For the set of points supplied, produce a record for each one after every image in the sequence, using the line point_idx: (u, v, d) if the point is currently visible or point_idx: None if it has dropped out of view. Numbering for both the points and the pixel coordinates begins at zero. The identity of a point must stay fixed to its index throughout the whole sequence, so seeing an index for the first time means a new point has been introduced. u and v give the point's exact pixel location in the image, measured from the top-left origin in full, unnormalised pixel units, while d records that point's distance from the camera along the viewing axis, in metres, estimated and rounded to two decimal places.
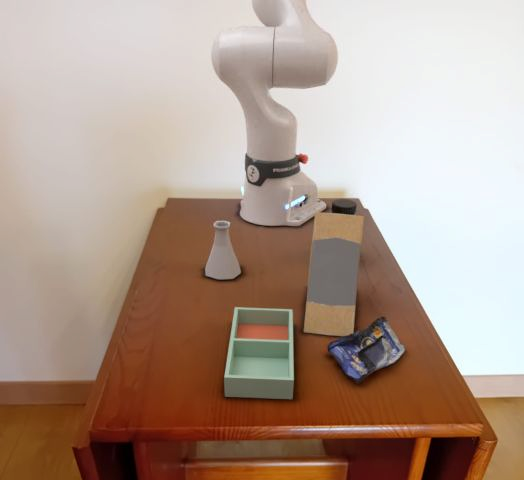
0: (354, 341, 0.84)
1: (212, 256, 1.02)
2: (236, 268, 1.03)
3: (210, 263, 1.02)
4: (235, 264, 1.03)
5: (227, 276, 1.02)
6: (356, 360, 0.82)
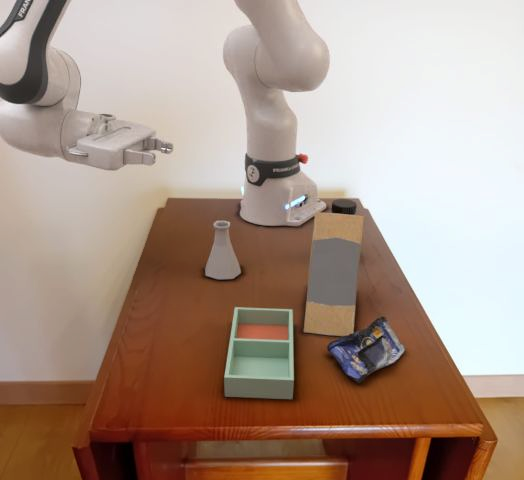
0: (354, 341, 0.84)
1: (212, 256, 1.02)
2: (236, 268, 1.03)
3: (210, 263, 1.02)
4: (235, 264, 1.03)
5: (227, 276, 1.02)
6: (356, 360, 0.82)
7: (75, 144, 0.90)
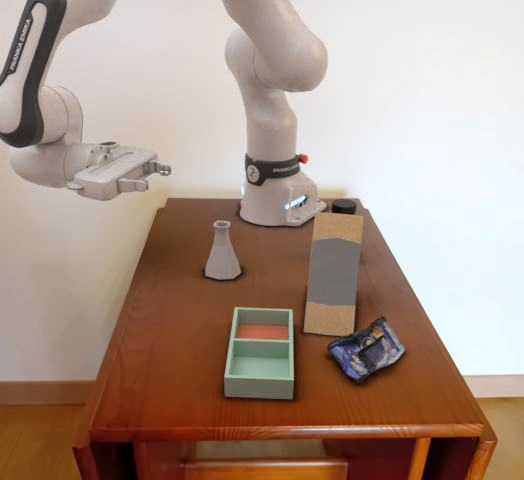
0: (354, 341, 0.84)
1: (212, 256, 1.02)
2: (236, 268, 1.03)
3: (210, 263, 1.02)
4: (235, 264, 1.03)
5: (227, 276, 1.02)
6: (356, 360, 0.82)
7: None
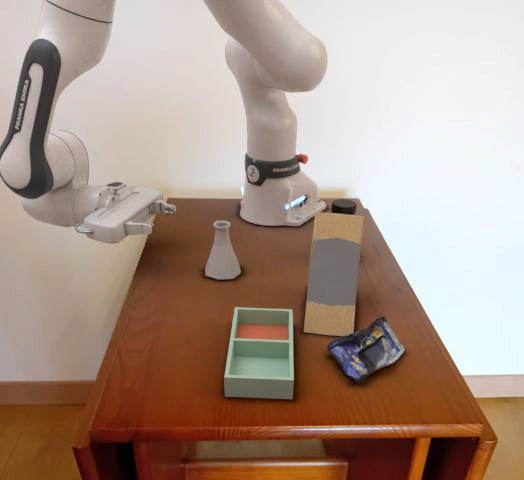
0: (354, 341, 0.84)
1: (212, 256, 1.02)
2: (236, 268, 1.03)
3: (210, 263, 1.02)
4: (235, 264, 1.03)
5: (227, 276, 1.02)
6: (356, 360, 0.82)
7: None
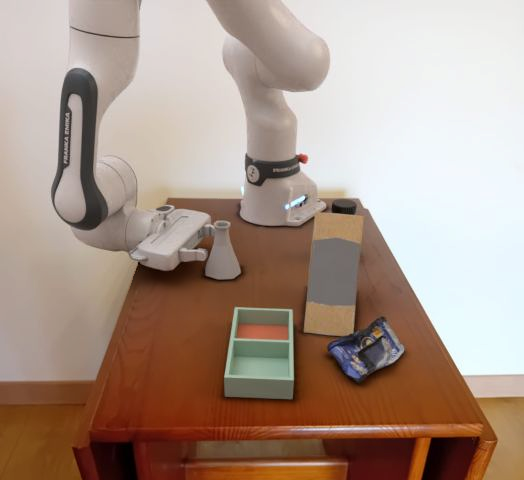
0: (354, 341, 0.84)
1: (212, 256, 1.02)
2: (236, 268, 1.03)
3: (210, 263, 1.02)
4: (235, 264, 1.03)
5: (227, 276, 1.02)
6: (356, 360, 0.82)
7: (137, 246, 1.00)
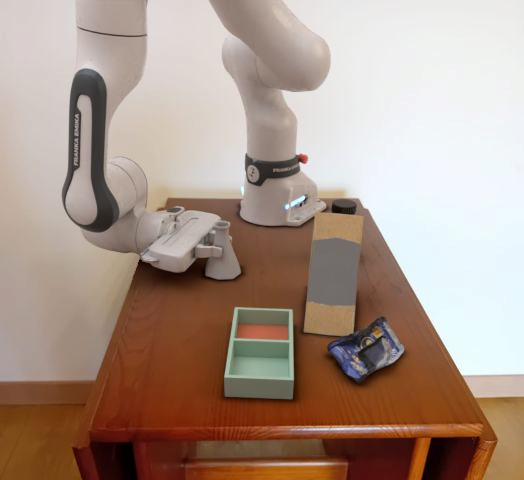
0: (354, 341, 0.84)
1: (212, 256, 1.02)
2: (236, 268, 1.03)
3: (210, 263, 1.02)
4: (235, 264, 1.03)
5: (227, 276, 1.02)
6: (356, 360, 0.82)
7: (148, 248, 1.00)
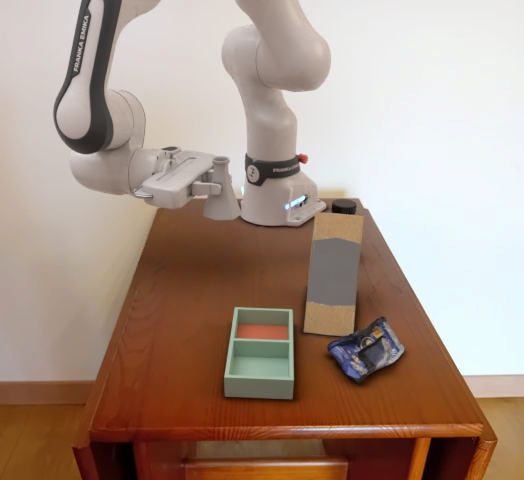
0: (354, 341, 0.84)
1: (210, 194, 0.95)
2: (236, 208, 0.97)
3: (208, 203, 0.96)
4: (235, 204, 0.96)
5: (227, 217, 0.96)
6: (356, 360, 0.82)
7: (141, 185, 0.93)
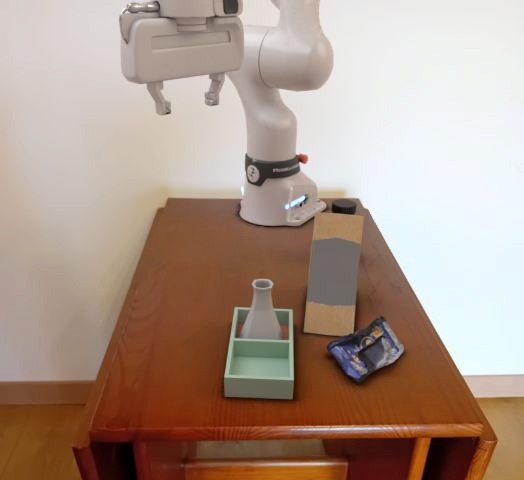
0: (353, 341, 0.84)
1: (252, 323, 0.82)
2: (280, 332, 0.84)
3: (250, 332, 0.82)
4: (279, 328, 0.84)
5: None
6: (355, 360, 0.82)
7: (146, 9, 0.70)
